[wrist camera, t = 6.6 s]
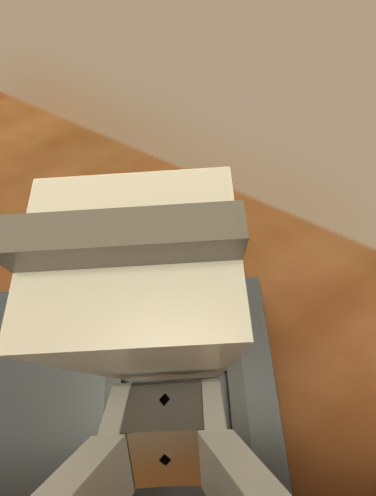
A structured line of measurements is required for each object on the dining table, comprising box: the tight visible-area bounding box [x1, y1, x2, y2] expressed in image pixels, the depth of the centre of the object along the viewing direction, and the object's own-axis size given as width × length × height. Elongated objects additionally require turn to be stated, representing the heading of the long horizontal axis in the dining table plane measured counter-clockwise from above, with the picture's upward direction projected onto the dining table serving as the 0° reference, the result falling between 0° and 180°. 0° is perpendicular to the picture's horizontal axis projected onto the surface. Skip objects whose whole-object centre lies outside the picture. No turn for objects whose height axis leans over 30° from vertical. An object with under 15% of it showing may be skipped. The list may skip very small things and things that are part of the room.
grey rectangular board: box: [0, 277, 293, 496], centre depth 12 cm, size 22×12×2 cm, turn 93°
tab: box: [0, 167, 254, 382], centre depth 8 cm, size 4×3×10 cm
